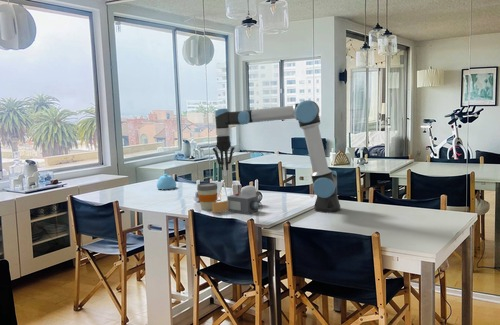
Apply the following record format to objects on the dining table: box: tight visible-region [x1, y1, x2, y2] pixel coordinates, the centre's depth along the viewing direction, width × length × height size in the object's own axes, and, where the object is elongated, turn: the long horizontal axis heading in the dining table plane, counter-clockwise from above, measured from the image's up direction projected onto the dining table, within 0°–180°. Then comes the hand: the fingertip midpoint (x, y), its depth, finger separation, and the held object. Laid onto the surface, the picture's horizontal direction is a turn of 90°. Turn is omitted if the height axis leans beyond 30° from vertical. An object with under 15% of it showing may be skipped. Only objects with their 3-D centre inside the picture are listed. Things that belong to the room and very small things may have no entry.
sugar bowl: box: [156, 173, 177, 190], centre depth 368 cm, size 15×15×12 cm
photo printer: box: [240, 185, 257, 196], centre depth 296 cm, size 10×4×12 cm, turn 123°
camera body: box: [227, 192, 260, 215], centre depth 280 cm, size 18×9×10 cm, turn 51°
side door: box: [212, 199, 229, 213], centre depth 279 cm, size 11×1×6 cm, turn 121°
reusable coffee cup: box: [196, 182, 218, 211], centre depth 292 cm, size 13×12×15 cm
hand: (225, 175), depth 274 cm, fingers closed
